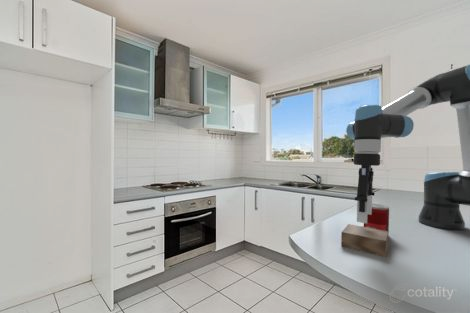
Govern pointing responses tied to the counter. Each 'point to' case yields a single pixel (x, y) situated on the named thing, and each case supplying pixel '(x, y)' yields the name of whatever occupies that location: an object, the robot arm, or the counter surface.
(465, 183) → the robot arm
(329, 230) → the counter surface
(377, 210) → the canned food
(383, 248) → the brown wooden block
